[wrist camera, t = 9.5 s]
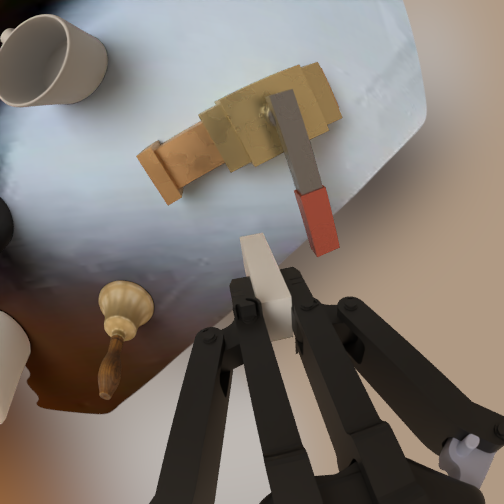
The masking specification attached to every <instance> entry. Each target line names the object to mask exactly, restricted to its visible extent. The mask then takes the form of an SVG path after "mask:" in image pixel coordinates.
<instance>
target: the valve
mask: <svg viewBox="0 0 504 504" xmlns="http://www.w3.org/2000/svg"><path fill="white" fill-rule="evenodd" d="M290 89H293V91H294V94H295V97H296V100H297V103H298V106H299V109H300V112H301V115H302V118H303V121H304V124H305V128H306V131H307V134H308V137H309V140H310V139H312V138H314V137H316V136H318V135H321V134H323V133H325V132H327V131H329V129H328V126H327V125H328V124H330V123H332V122H334V121H337V120H339V119H341V118H342V115H341V113H340V110H339V106H338V104H337V101H336V99H335V97H334V94H333V92H332V90H331V88H330V85H329V83H328V81H327V79H326V77H325V74H324V72H323V70H322V68H321V67H320V65H319V63H318V62H316V63H312V64H309V65H306V66H303V67H300V65H297V66H294V67H291V68H288V69H285V70H283V71H280V72H277V73H275V74H273V75H270V76H268V77H266V78H263V79H261V80H259V81H256V82H254V83H252V84H250V85H248V86H246V87H243V88H241V89H239V90H237V91H235V92H233V93H231V94H229V95H227V96H225V97H223V98H221V99H219V100H217V101H215V104H216V105H215V106H213V107H211V108H209V109H207V110H206V111H204V112H202V113H200V114H198V116H199V118H200V119H201V121H200V122H198V123H196V124H195V125H193V126H191V127H189V128H188V129H186V130H184V131H182V132H181V133H179V134H177V135H176V136H174V137H172V138H171V139H169V140H167V141H166V142H164V143H162V144H160V142H159V141H156V142H154V143H153V144H151V145H150V146H148V147H147V148H145V149H144V150H143V151H142V152H141V153H139V154H138V155H137V156H136V157H137V158H138V160H139V161H140V163H141V165H142V166H143V168H144V169H145V171H146V172H147V174H148V176H149V177H150V179H151V180H152V182H153V183H154V185H155V186H156V188H157V189H158V191H159V193H160V194H161V196H162V197H163V199H164V200H165V202H166V203H167V205H170V204H172V203H173V202H175V201H176V200H178V199H180V198H181V197H182V193H183V186H185V185H186V184H188V183H190V182H192V181H193V180H195V179H197V178H198V177H200V176H202V175H204V174H205V173H207V172H209V171H211V170H213V169H214V168H216V167H218V166H220V165H222V164H223V163H226V165H227V167H228V169H229V170H230V172H233V171H235V170H237V169H239V168H241V167H243V166H244V165H246V164H248V163H250V162H251V163H252V164H253V165H254V166H255V167H256V166H258V165H260V164H262V163H264V162H266V161H268V160H270V159H272V158H274V157H275V156H277V155H279V154H281V153H283V152H284V150H283V147H282V144H281V141H280V138H279V136H278V133H277V130H276V127H274V126H271V125H270V124H268V123H267V121H266V120H265V117H264V112H265V109H266V107H267V106H268V104H267V102H266V99H265V97H266V96H269V95H272V94H275V93H278V92H282V91H285V90H290Z"/></svg>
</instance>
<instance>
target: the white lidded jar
mask: <svg viewBox="0 0 504 504" xmlns="http://www.w3.org/2000/svg"><path fill="white" fill-rule="evenodd" d="M30 353H31V350H30V342H29V339H28V337H27V335H26V333H25V332H24V330H23V329H22V327H21V326H20V325H19V324H18V323H17V322H16V321H15V320H14V319H13V318H11V317H10V316H9V315H8V314H6V313H4V312H2V311H0V424H2V423H3V421H4V420H5V419H6V417H7V414H8V411H9V408H10V405H11V402H12V399H13V395H14V393H15V390H16V388H17V384H18V382H19V379H20V377H21V374H22V372H23V369H24V367H25V364H26V362H27V360H28V357H29V355H30Z"/></svg>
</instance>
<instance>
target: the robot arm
mask: <svg viewBox="0 0 504 504" xmlns="http://www.w3.org/2000/svg"><path fill="white" fill-rule="evenodd" d="M240 242H241V248H242V254H243V261H244V267H245V273H246V277H243V278H237V279H232V281H231V283H230V292H231V297H232V303H233V312H234V316H235V318H234V321H233V323H232V324H231V325H229V326H228V327H226V328H224V329H222V330H220V329H218V328H215V327H209V328H205V329H203V330H201V331H200V332H198V333H197V335H196V337H195V340H194V344H193V348H192V351H191V355H190V358H189V362H188V366H187V370H186V373H185V377H184V381H183V384H182V388H181V392H180V396H179V400H178V403H177V407H176V411H175V415H174V419H173V423H172V427H171V431H170V435H169V439H168V443H167V447H166V451H165V455H164V460H163V464H162V468H161V473H160V477H159V481H158V485H157V490H156V494H155V496H154V497H153V499H152V500H151V502H150V503H149V504H214V502H215V495H216V488H217V480H218V474H219V473H218V472H219V467H220V459H221V452H222V445H223V438H224V430H225V424H226V417H227V410H228V402H229V396H230V389H231V382H232V375H233V369H234V368H236V367H238V366H240V365H243V364H244V368H245V373H246V378H247V382H248V387H249V392H250V397H251V402H252V407H253V411H254V416H255V421H256V425H257V430H258V434H259V438H260V443H261V447H262V452H263V457H264V463H265V467H266V471H267V476H268V480H269V484H270V489H271V493H270V494H269V495H267V496H266V497H265V498H264V499H263V500H262V501H261V502H260V503H259V504H485V499H484V496H483V494H482V493H481V491H480V490H479V489H480V487H481V485H482V483H483V480H484V479H485V476H486V474H487V472H488V470H489V467H490V465H491V462H492V460H493V458H494V455H495V453H496V452H497V450H499V449H500V448H501V447H503V446H504V416H502V415H500V414H498V413H496V412H493V411H491V410H489V409H487V408H484V407H482V406H480V405H478V404H476V403H474V402H471V400H470V399H469V398H468V397H466V395H464V394H463V393H462V392H461V391H460V390H459V389H458V388H457V387H456V386H455V385H454V384H453V383H452V382H451V381H450V380H449V379H448V378H446V376H445V375H443V374H442V373H441V372H440V371H439V370H438V369H437V368H436V367H435V366H434V365H433V364H432V363H430V361H428V360H427V359H426V358H425V357H424V356H423V355H422V354H421V353H420V352H419V351H418V350H416V349H415V348H414V347H413V346H412V345H411V344H410V343H409V342H408V341H407V340H405V339H404V338H403V337H402V336H401V335H400V334H398V332H397V331H395V330H394V329H393V328H392V327H391V326H390V325H389V324H388V323H386V322H385V321H384V320H383V319H382V318H381V317H380V316H378V315H377V314H376V313H375V312H374V311H373V310H372V309H371V308H369V307H368V306H367V305H366V304H365V303H364V302H363V301H361V300H360V299H358V298H356V297H345V298H342V299H341V300H339V302H338V304H337V305H324V304H321V303H320V302H319V301H318V300H317V299H315V298H313V296H312V294H311V292H310V290H309V288H308V287H307V285H306V283H305V281H304V279H303V278H302V275H301V273H300V272H299V271H298V270H297V269H296V268H294V267H290V268H285V269H280V270H279V268H278V265H277V263H276V261H275V259H274V256H273V254H272V252H271V250H270V247H269V245H268V243H267V241H266V239H265V236H264V234H263V233H259V234H254V235H249V236H243V237H240ZM293 332H294V335H295V340H296V342H295V343H296V354H297V353H298V352H299V354H300V357H301V360H302V363H303V365H304V368H305V371H306V373H307V376H308V379H309V381H310V384H311V387H312V390H313V392H314V395H315V397H316V400H317V403H318V406H319V409H320V411H321V414H322V417H323V419H324V422H325V425H326V428H327V431H328V433H329V436H330V439H331V442H332V444H333V447H334V450H335V453H336V456H337V464H338V468H339V473H337V474H334V475H325V476H314V473H313V470H312V467H311V464H310V460H309V458H308V454H307V452H306V450H305V448H304V447H303V445H302V442H301V439H300V435H299V432H298V429H297V426H296V422H295V419H294V416H293V413H292V409H291V406H290V403H289V400H288V397H287V393H286V390H285V387H284V383H283V380H282V377H281V373H280V370H279V367H278V363H277V360H276V357H275V354H274V350H273V347H272V344H271V342H272V341H277V340H281V339H286V338H290V337H293ZM354 367H355V368H356V369H355V368H354ZM356 370H357V371H358V372H359V373H360V374H361V375H362V376H363V377H364V378H365V380H366V381H367V382H368V383H369V384H370V385H371V386H372V387H373V389H374V390H375V391H376V392H377V393H378V394H379V395H380V396H381V397H382V399H383V400H384V401H385V402H386V403H387V404H388V405H389V406H390V407H391V409H392V410H393V411H394V412H395V413H396V414H397V415H398V416H399V418H400V419H401V420H402V421H403V422H404V423H405V424H406V425H407V426H408V427H409V429H410V430H411V431H412V432H413V433H414V434H415V435H416V436H417V437H418V439H419V440H420V441H421V442H422V443H423V444H424V445H425V446H426V447H427V448H429V449H430V450H431V451H432V452H434V453H435V454H437V455H439V467H440V469H442V470H445V471H446V472H447V473H448V475H449V476H447V475H445V474H442V473H440V472H438V471H435V470H433V469H431V468H428V467H426V466H424V465H422V464H419V463H417V462H415V461H413V460H411V459H408V458H406V457H405V456H404V454H403V451H402V449H401V447H400V445H399V443H398V441H397V439H396V437H395V435H394V432H393V430H392V429H391V427H390V425H389V424H388V423H387V422H386V421H382V420H381V419H380V418H379V416H378V414H377V412H376V410H375V408H374V406H373V404H372V402H371V400H370V398H369V396H368V393H367V392H366V389H365V387H364V386H363V384H362V382H361V379H360V378H359V375H358V373H357V371H356Z"/></svg>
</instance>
